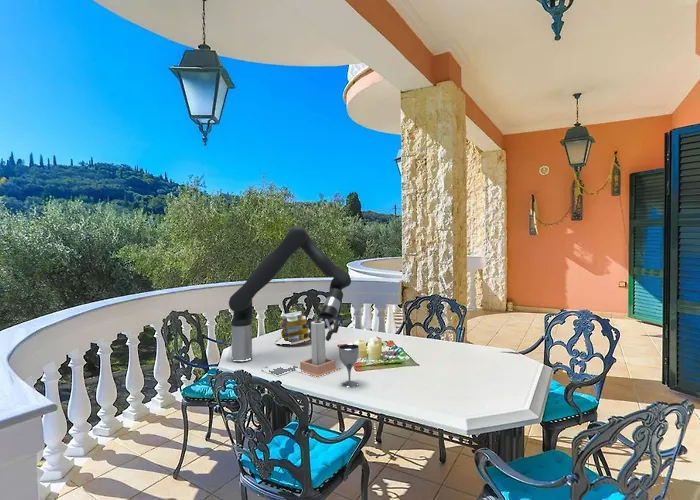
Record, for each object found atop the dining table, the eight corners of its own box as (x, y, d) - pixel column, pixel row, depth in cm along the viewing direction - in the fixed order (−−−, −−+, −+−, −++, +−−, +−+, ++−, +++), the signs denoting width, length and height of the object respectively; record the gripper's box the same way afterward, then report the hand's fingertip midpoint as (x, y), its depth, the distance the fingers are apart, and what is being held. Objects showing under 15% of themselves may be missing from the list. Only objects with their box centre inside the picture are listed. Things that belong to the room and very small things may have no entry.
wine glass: (342, 388, 152) (341, 350, 151) (337, 381, 159) (336, 344, 159) (362, 386, 154) (361, 348, 153) (356, 379, 161) (355, 343, 161)
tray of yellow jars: (268, 347, 214) (267, 316, 213) (282, 335, 238) (281, 308, 238) (312, 348, 210) (311, 316, 210) (322, 336, 235) (321, 308, 234)
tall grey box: (318, 366, 179) (317, 319, 178) (328, 369, 175) (327, 321, 174) (307, 371, 173) (306, 322, 172) (317, 373, 169) (316, 324, 169)
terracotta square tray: (295, 371, 173) (295, 362, 173) (318, 363, 184) (318, 354, 184) (317, 377, 164) (317, 368, 164) (340, 369, 175) (340, 360, 174)
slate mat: (260, 370, 175) (260, 368, 175) (281, 363, 184) (281, 362, 184) (277, 376, 167) (277, 374, 167) (299, 368, 176) (299, 367, 176)
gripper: (314, 303, 185) (301, 333, 175) (341, 305, 179) (329, 335, 169) (320, 312, 190) (308, 342, 180) (346, 314, 184) (335, 345, 174)
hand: (318, 339), depth 175 cm, fingers open, 8 cm apart
